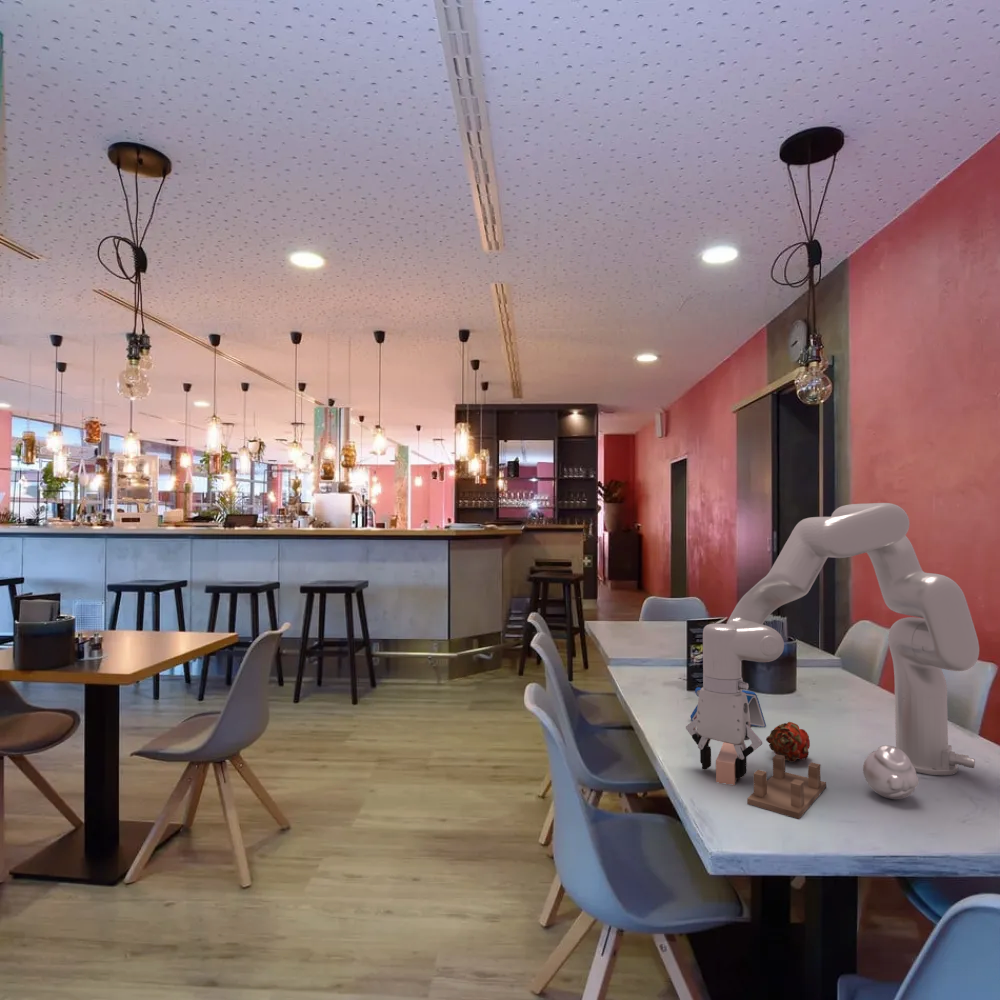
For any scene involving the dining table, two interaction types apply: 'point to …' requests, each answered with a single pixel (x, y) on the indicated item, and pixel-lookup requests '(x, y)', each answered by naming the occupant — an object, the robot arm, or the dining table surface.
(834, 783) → the dining table surface
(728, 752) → the clay strip
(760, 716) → the logo
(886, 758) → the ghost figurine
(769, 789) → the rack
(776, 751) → the dragon fruit
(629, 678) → the dining table surface
